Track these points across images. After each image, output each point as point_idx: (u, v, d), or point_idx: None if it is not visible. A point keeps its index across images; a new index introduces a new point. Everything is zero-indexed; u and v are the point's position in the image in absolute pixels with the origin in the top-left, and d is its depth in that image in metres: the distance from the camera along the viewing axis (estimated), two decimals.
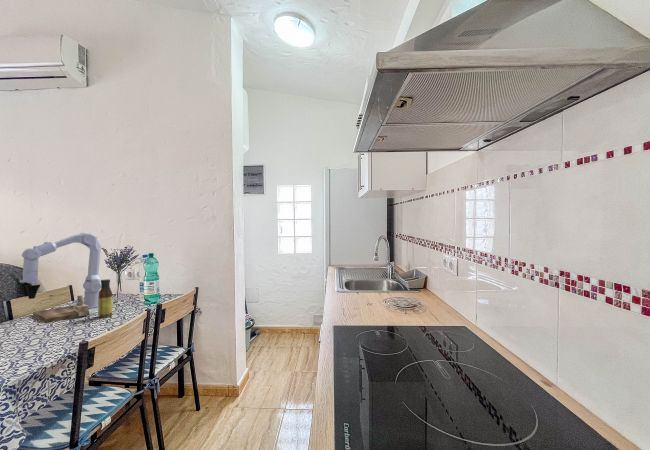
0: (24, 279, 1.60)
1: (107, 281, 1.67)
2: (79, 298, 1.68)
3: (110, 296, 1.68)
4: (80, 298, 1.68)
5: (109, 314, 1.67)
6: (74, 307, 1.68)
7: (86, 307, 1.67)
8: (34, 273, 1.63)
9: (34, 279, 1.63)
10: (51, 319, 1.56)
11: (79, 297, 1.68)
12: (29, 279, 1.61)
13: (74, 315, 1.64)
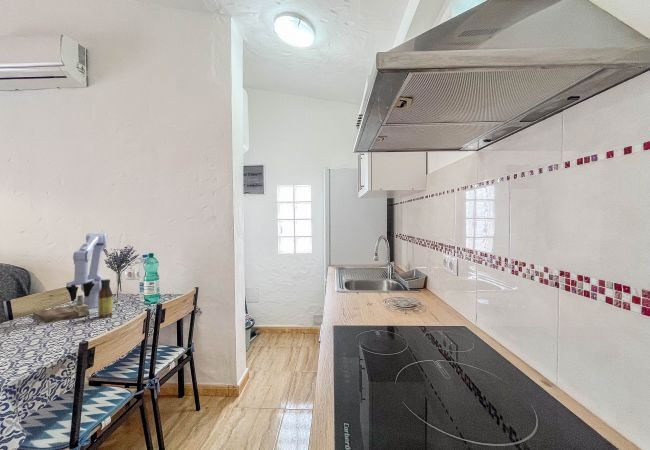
0: None
1: (107, 281, 1.67)
2: (79, 298, 1.68)
3: (110, 296, 1.68)
4: (80, 298, 1.68)
5: (109, 314, 1.67)
6: (74, 307, 1.68)
7: (86, 307, 1.67)
8: (77, 275, 1.67)
9: (77, 281, 1.66)
10: (51, 319, 1.56)
11: (79, 297, 1.68)
12: (74, 280, 1.67)
13: (74, 315, 1.64)
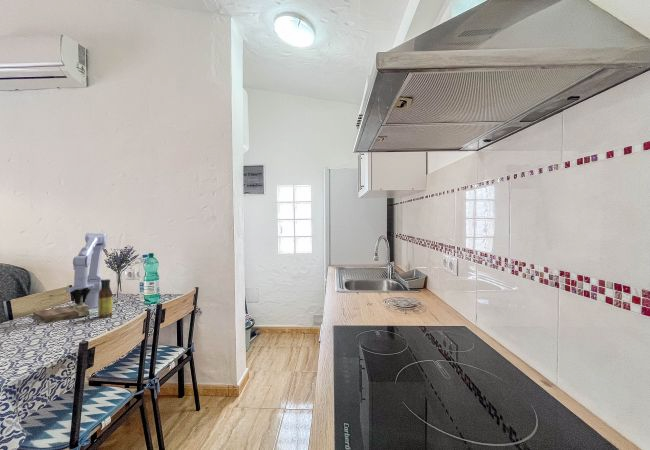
0: None
1: (107, 281, 1.67)
2: None
3: (110, 296, 1.68)
4: (80, 298, 1.68)
5: (109, 314, 1.67)
6: (74, 307, 1.68)
7: (86, 307, 1.67)
8: (77, 280, 1.67)
9: (77, 286, 1.66)
10: (51, 319, 1.56)
11: None
12: (74, 285, 1.67)
13: (74, 315, 1.64)
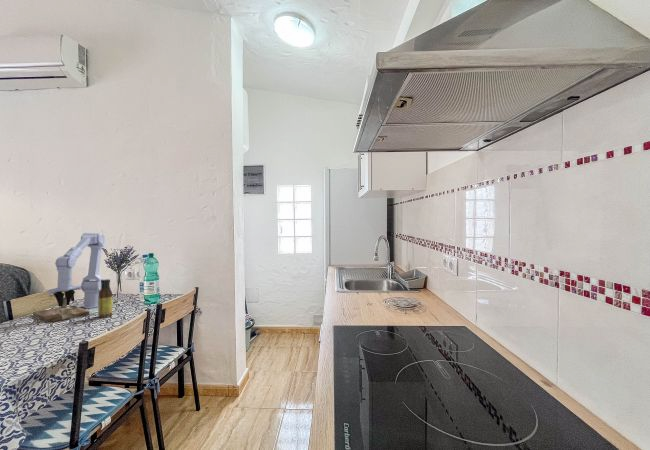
0: None
1: (107, 281, 1.67)
2: (63, 300, 1.62)
3: (110, 296, 1.68)
4: (64, 300, 1.62)
5: (109, 314, 1.67)
6: (57, 310, 1.62)
7: (70, 310, 1.61)
8: (59, 282, 1.61)
9: (59, 288, 1.60)
10: (51, 319, 1.56)
11: (63, 299, 1.62)
12: (57, 287, 1.61)
13: (74, 315, 1.64)
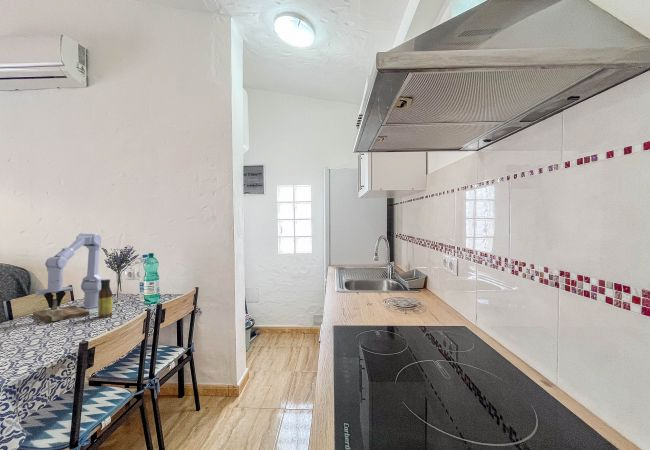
0: None
1: (107, 281, 1.67)
2: (53, 302, 1.59)
3: (110, 296, 1.68)
4: (54, 302, 1.59)
5: (109, 314, 1.67)
6: (48, 312, 1.59)
7: (60, 311, 1.58)
8: (49, 283, 1.57)
9: (49, 289, 1.57)
10: (51, 319, 1.56)
11: (53, 301, 1.59)
12: None
13: (74, 315, 1.64)
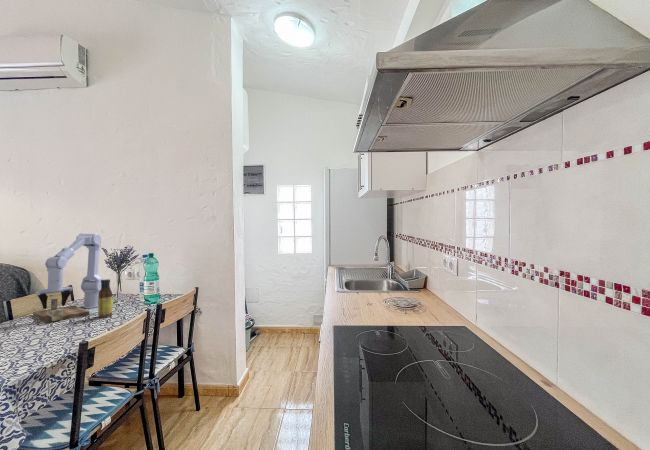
0: None
1: (107, 281, 1.67)
2: (53, 302, 1.59)
3: (110, 296, 1.68)
4: (54, 302, 1.59)
5: (109, 314, 1.67)
6: (48, 312, 1.59)
7: (60, 311, 1.58)
8: (49, 283, 1.57)
9: (49, 289, 1.57)
10: (51, 319, 1.56)
11: (53, 301, 1.59)
12: None
13: (74, 315, 1.64)
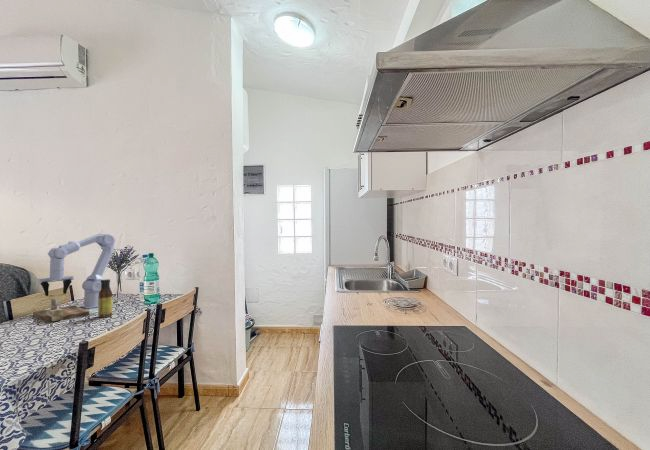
0: None
1: (107, 281, 1.67)
2: (53, 302, 1.59)
3: (110, 296, 1.68)
4: (54, 302, 1.59)
5: (109, 314, 1.67)
6: (48, 312, 1.59)
7: (60, 311, 1.58)
8: (51, 271, 1.67)
9: (50, 277, 1.67)
10: (51, 319, 1.56)
11: (53, 301, 1.59)
12: None
13: (74, 315, 1.64)
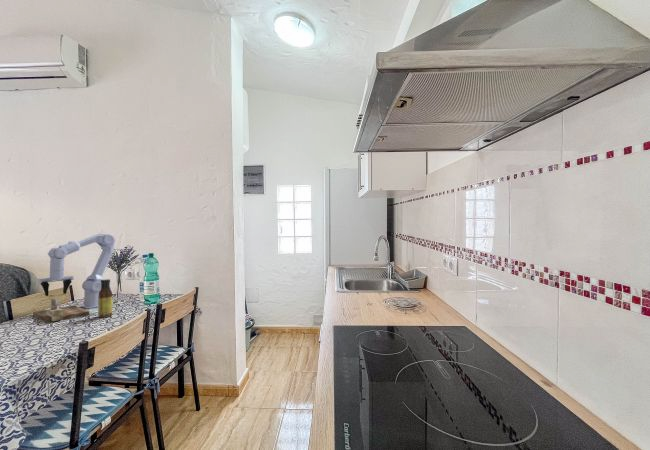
0: None
1: (107, 281, 1.67)
2: (53, 302, 1.59)
3: (110, 296, 1.68)
4: (54, 302, 1.59)
5: (109, 314, 1.67)
6: (48, 312, 1.59)
7: (60, 311, 1.58)
8: (51, 271, 1.67)
9: (50, 277, 1.67)
10: (51, 319, 1.56)
11: (53, 301, 1.59)
12: None
13: (74, 315, 1.64)
